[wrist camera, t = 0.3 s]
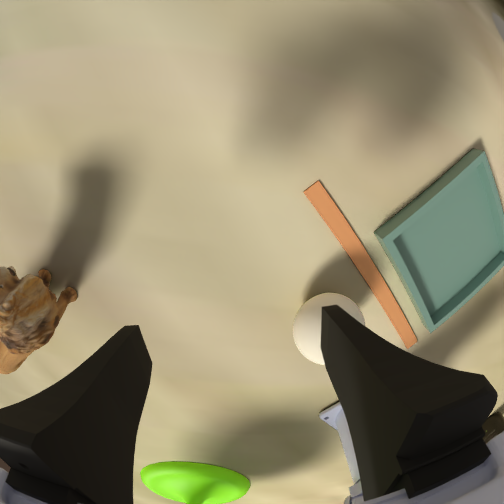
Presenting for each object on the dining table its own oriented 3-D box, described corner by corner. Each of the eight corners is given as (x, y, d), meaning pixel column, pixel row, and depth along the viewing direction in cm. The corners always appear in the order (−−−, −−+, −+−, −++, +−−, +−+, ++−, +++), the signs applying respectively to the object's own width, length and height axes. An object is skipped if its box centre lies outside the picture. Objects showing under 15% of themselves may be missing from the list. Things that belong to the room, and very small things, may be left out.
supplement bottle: (505, 409, 36) (532, 449, 25) (484, 432, 38) (507, 472, 27) (490, 412, 35) (518, 458, 24) (467, 437, 37) (491, 481, 26)
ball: (362, 310, 23) (387, 350, 18) (310, 345, 24) (325, 390, 19) (330, 266, 21) (355, 304, 16) (274, 307, 22) (284, 352, 17)
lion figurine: (47, 220, 18) (-32, 274, 10) (100, 264, 20) (39, 341, 12) (6, 332, 22) (-38, 390, 14) (46, 364, 24) (9, 429, 15)
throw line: (417, 340, 24) (417, 341, 24) (407, 348, 25) (407, 348, 25) (318, 180, 18) (318, 180, 18) (303, 192, 19) (303, 192, 19)
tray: (503, 250, 22) (512, 256, 20) (423, 324, 24) (430, 333, 22) (472, 148, 18) (484, 151, 17) (373, 232, 20) (382, 239, 19)
